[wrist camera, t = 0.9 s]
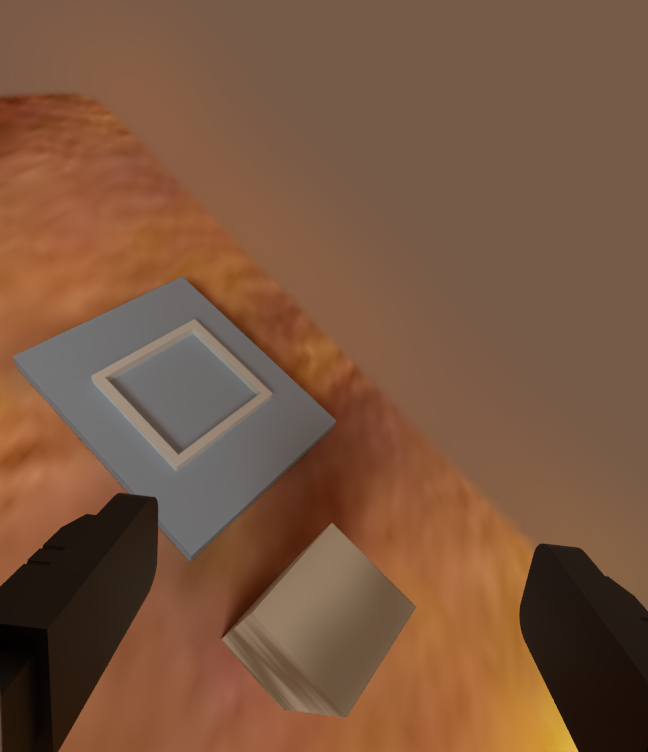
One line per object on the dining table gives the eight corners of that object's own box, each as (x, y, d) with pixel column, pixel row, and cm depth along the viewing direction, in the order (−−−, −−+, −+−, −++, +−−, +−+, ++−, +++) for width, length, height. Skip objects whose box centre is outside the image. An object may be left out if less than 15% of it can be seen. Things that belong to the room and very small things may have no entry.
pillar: (221, 639, 26) (251, 612, 18) (280, 573, 29) (331, 522, 21) (282, 709, 25) (346, 717, 17) (337, 633, 28) (416, 606, 20)
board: (17, 369, 32) (9, 349, 30) (181, 288, 40) (182, 269, 38) (190, 561, 28) (192, 552, 26) (331, 429, 36) (340, 416, 34)
